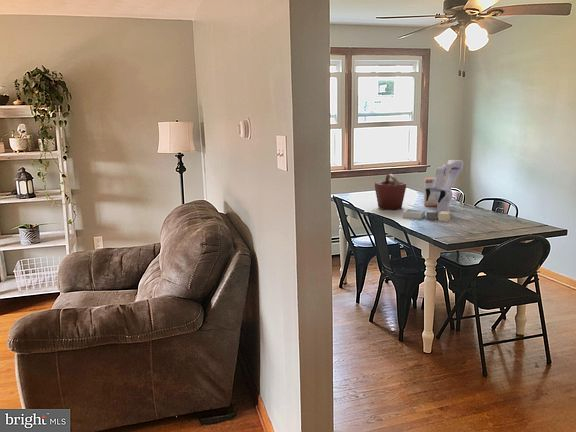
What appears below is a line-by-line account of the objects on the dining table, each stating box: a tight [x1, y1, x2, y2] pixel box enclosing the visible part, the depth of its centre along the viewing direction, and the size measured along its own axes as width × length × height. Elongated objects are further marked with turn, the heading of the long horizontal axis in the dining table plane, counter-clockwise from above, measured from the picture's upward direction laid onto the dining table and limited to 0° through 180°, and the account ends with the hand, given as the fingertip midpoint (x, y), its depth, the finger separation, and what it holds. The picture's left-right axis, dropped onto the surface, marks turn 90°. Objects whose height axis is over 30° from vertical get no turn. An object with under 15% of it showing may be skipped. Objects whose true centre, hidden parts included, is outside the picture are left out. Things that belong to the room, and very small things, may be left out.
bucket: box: [374, 173, 407, 211], centre depth 348 cm, size 24×22×25 cm
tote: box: [402, 208, 426, 220], centre depth 320 cm, size 11×12×4 cm
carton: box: [438, 211, 451, 222], centre depth 309 cm, size 8×6×5 cm
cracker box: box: [423, 177, 446, 207], centre depth 353 cm, size 14×6×21 cm, turn 84°
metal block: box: [425, 209, 439, 221], centre depth 313 cm, size 8×6×5 cm
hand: (432, 201), depth 307 cm, fingers open, 7 cm apart
